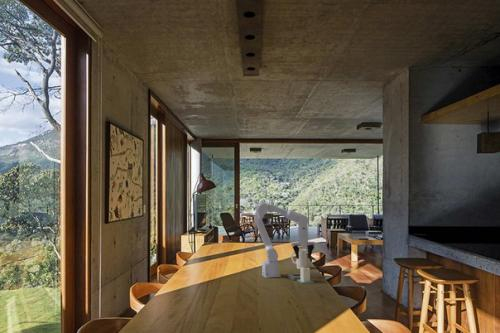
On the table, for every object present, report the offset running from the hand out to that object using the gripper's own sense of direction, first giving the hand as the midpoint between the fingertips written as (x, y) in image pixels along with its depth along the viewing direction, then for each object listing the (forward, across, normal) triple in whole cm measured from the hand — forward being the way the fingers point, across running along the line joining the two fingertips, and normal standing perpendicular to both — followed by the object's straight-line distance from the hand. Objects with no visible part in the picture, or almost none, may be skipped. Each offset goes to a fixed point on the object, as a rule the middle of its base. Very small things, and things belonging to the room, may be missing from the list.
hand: (303, 258), depth 234 cm
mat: (+10, -5, -14) cm, 18 cm away
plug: (+10, -5, -13) cm, 17 cm away
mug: (+11, +6, +21) cm, 24 cm away
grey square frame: (+10, -6, -4) cm, 13 cm away
